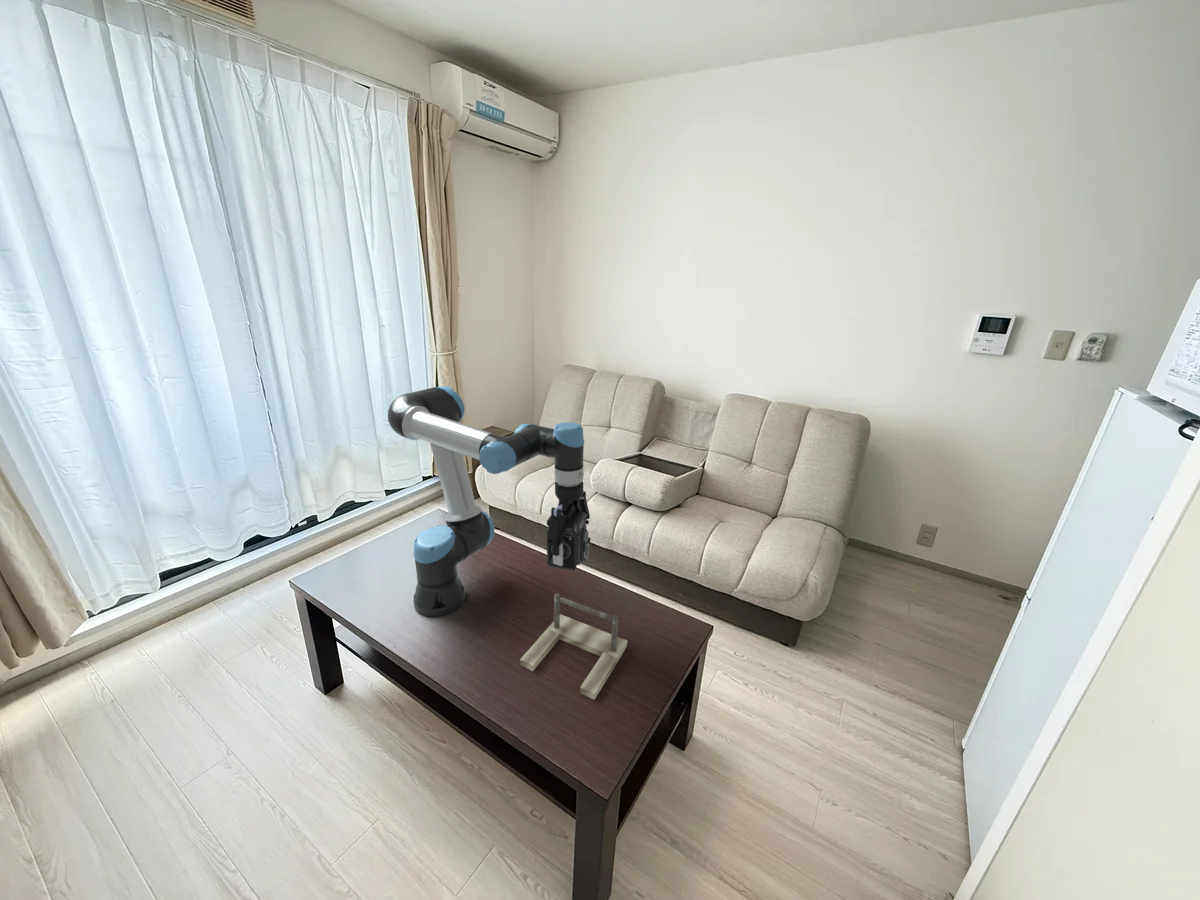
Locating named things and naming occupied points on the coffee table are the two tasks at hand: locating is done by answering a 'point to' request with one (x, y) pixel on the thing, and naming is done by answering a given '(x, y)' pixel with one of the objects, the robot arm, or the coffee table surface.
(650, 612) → the coffee table surface
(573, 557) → the camera
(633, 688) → the coffee table surface
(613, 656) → the wooden rack
